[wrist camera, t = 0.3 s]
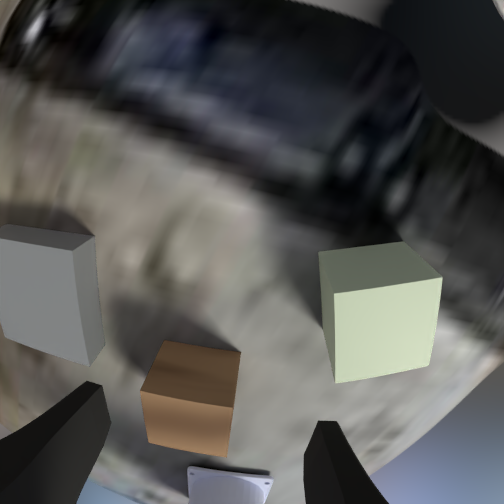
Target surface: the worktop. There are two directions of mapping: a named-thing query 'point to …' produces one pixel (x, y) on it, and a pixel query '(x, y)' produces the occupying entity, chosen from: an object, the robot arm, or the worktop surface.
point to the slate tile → (51, 292)
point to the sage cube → (378, 309)
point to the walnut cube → (191, 398)
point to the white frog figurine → (499, 7)
